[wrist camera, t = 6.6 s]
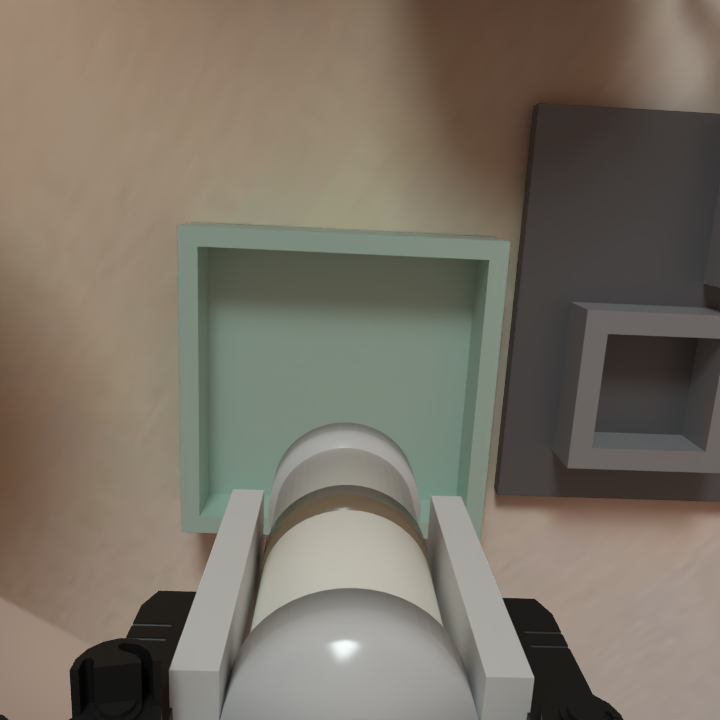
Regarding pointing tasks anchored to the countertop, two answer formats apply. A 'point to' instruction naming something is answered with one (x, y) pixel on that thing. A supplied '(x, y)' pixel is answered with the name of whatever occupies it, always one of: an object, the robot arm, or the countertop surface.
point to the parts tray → (335, 354)
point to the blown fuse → (346, 594)
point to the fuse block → (616, 309)
